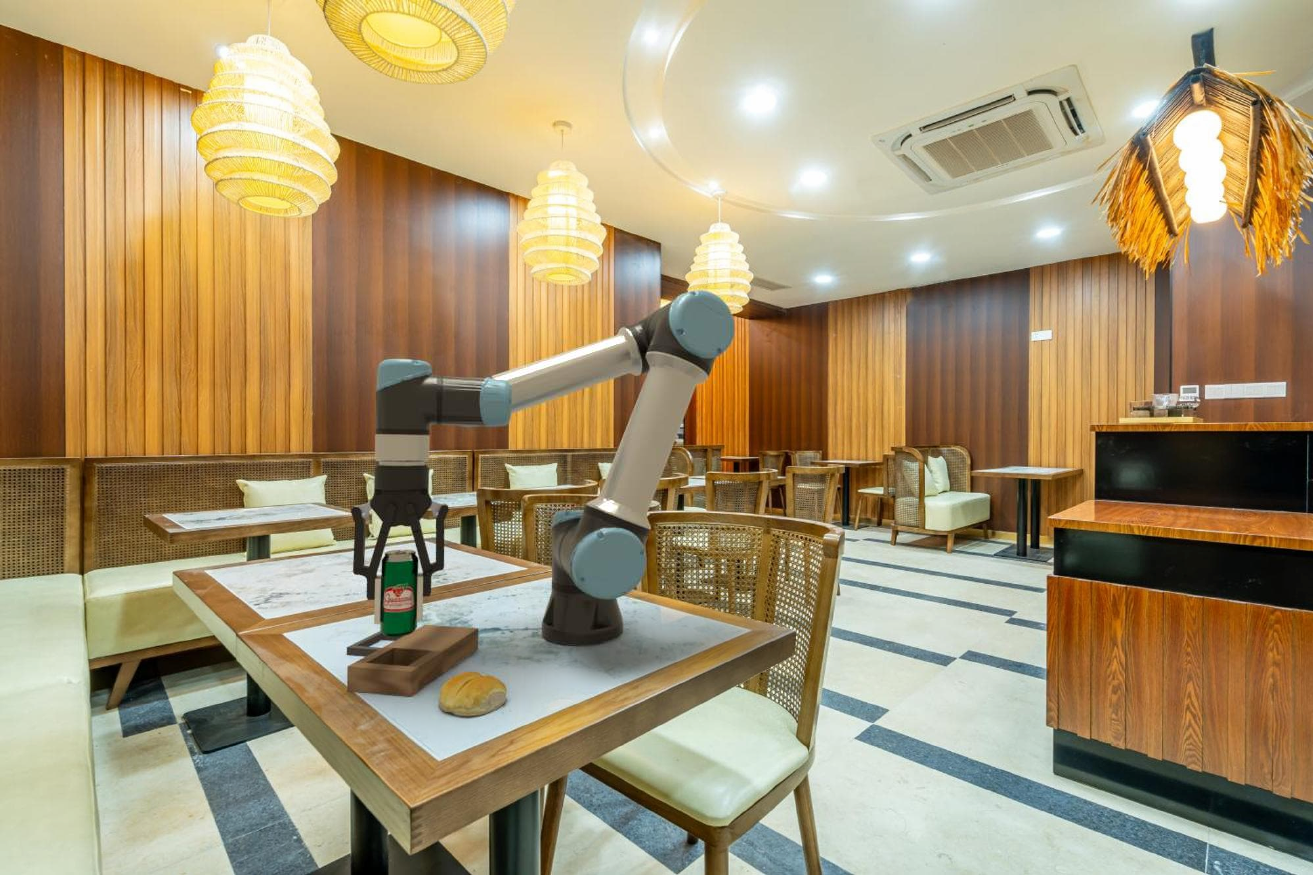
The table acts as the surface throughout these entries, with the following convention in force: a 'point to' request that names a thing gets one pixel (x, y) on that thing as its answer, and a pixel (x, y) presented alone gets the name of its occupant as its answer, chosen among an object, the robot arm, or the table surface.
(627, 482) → the robot arm
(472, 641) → the caddy
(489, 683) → the bread roll
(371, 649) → the dark square frame
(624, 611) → the table surface
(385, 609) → the soda can
